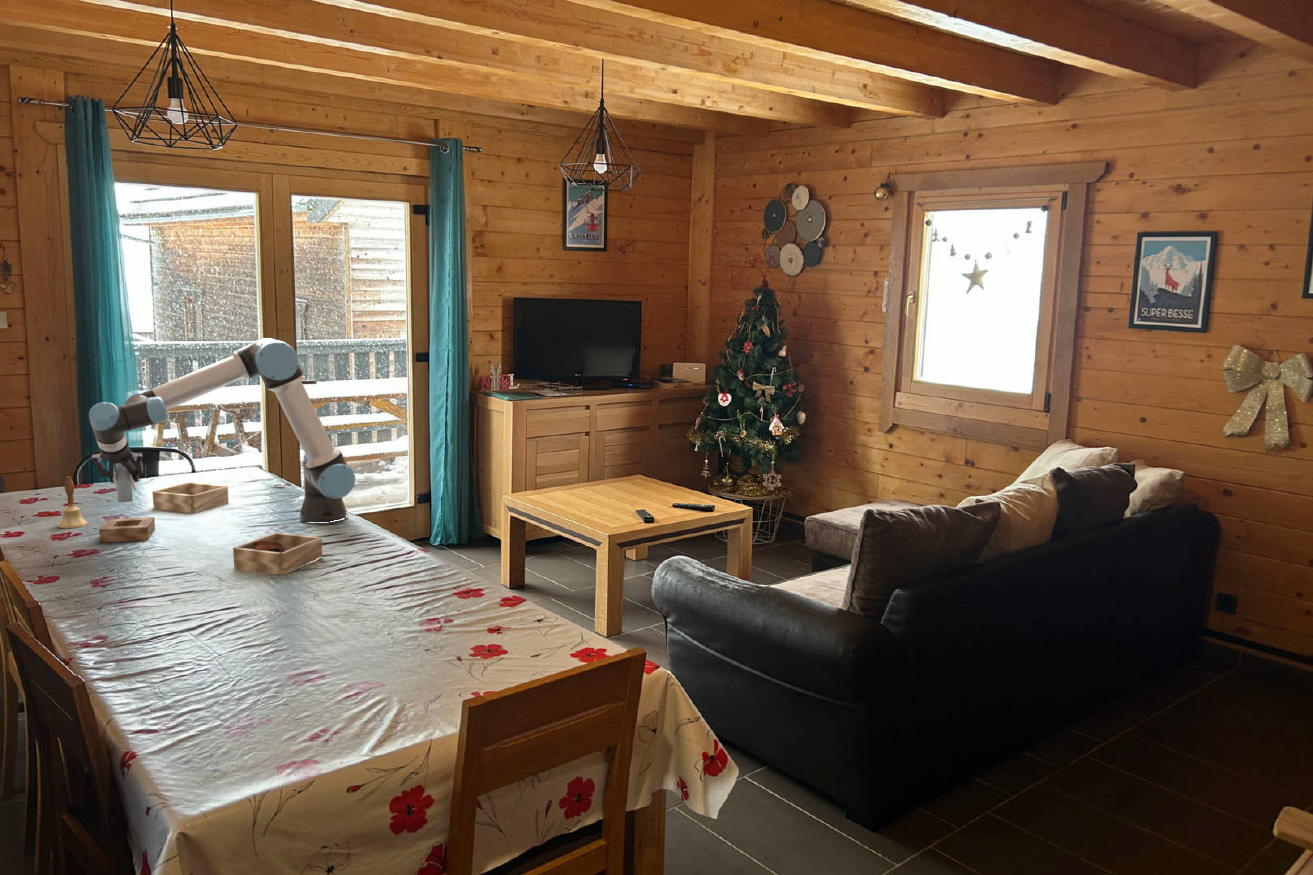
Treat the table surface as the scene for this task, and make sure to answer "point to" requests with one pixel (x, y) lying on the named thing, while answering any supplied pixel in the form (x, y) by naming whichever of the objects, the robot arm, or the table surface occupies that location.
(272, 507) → the table surface
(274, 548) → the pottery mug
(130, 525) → the socket
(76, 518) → the hand bell
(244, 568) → the open wooden box
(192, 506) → the wooden tray
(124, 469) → the peg
